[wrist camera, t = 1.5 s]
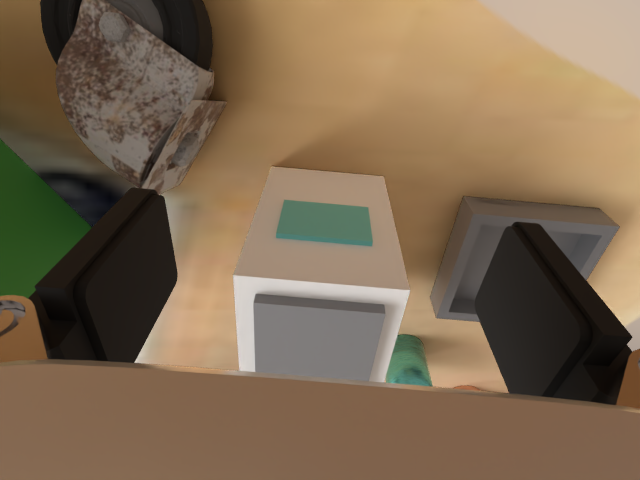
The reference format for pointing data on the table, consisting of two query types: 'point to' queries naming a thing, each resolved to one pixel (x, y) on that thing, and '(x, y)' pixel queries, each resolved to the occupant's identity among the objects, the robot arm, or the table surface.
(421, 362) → the cylinder
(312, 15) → the table surface
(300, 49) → the table surface
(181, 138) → the caster wheel
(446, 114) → the table surface
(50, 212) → the hardback book
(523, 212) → the tray
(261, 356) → the unit
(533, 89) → the table surface
